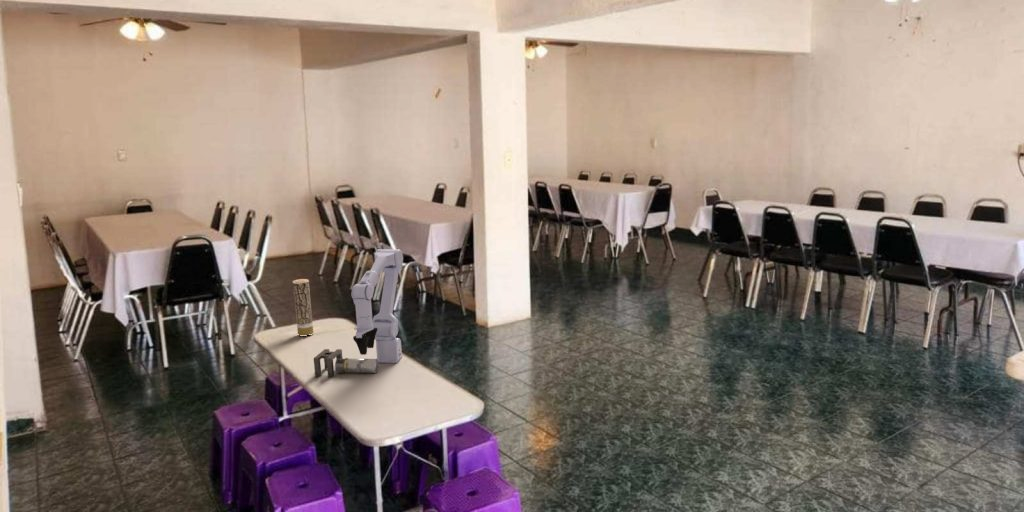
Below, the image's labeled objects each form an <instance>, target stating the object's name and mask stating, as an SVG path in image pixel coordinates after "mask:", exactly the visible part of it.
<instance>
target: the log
mask: <svg viewBox="0 0 1024 512" xmlns="http://www.w3.org/2000/svg"><path fill="white" fill-rule="evenodd" d="M292 288H293V300H294V308H295V309H294V310H295V319H296V320H295V321H296V328H297V329H296V330H297V335H298V334H299V335H309V334H312V333H313V334H314V324H313V322H314V321H313V314H312V313H313V312H312V311H313V310H312V301H311V291H310V280H309V278H299V279H295V280H292ZM313 334H312V335H313ZM299 335H298V336H299Z"/></svg>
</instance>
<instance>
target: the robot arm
mask: <svg viewBox="0 0 1024 512" xmlns="http://www.w3.org/2000/svg"><path fill="white" fill-rule="evenodd" d="M403 263H404V255H403V252H402V250H401V249H399V248H398V249H387V248H386V249H381V248H378V249H377V250H376V251H375V253H374V262H373V264H372V266H371V268H370V270H367V271H365V273H364V274H363V276H362V278H361V279H360V281H359V282H358V283H355V284H354V285H353V286H352V288H351V292H350V293H351V298H352V300H353V304H354V306H355V316H356V326H355V327H353V329H354V330H355V331H356V332H355V335H354V336H353V338H352V339H353V341H354V342H355V344H356V345H357V348H358V352H359V354H360V356H361V355H362V356H363V355H364V356H365V355H367V354H368V353H367V352H368V349H373V348H374V347H375V348H376V349H375V350H376V358H375V359H377V360H378V364H380V363H381V364H382V363H384V364H385V363H389V364H390V363H391V364H395V363H398V362H399V361H400V360H401V359H402V358H403V353H402V340H401V338H399V337H397V336H398V333H399V319H398V318H397V317H396V316H395V315H394V314H393V313H394V312H393V311H394V305H395V298H396V291H397V285H398V278H399V273H400V272H401V271H402V269H403V265H404V264H403ZM382 272H383V273H384V279H383V280H384V281H383V287H382V293H381V300H380V307H379V312H378V313H377V314H375V315H374V316H373V311H372V310H373V309H372V308H373V307H372V298H373V296H374V291H375V287H376V286H377V284H378V282H379V280H380V274H381V273H382Z"/></svg>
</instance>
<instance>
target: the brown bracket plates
mask: <svg viewBox="0 0 1024 512" xmlns="http://www.w3.org/2000/svg"><path fill="white" fill-rule="evenodd" d="M321 359H323V362H324V363H323V364H324V370H326V371H327V378H332V379H333V378H335V365H334V360H335V359H336V360H337V359H344V358H343V349H341V348H337V349H335V350H334V351H330V348H326V349H325V348H324V349H323V350H322V351H321V352H319V353H318V354H317V355H316V356H314V357H313V368H314V377H315V378H321V377H322V376H323V375H322V366H321V365H322V364H321ZM336 360H335V361H336Z"/></svg>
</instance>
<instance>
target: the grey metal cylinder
mask: <svg viewBox="0 0 1024 512" xmlns="http://www.w3.org/2000/svg"><path fill="white" fill-rule="evenodd" d="M334 371H335V372H336V373H341V374H342V373H344V374H345V373H347V374H352V373H354V374H356V373H357V374H360V373H361V374H377V373H378V371H379V363H378V360H377V359H376V358H349V357H345V358H343V359H337V360H335V363H334Z"/></svg>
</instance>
